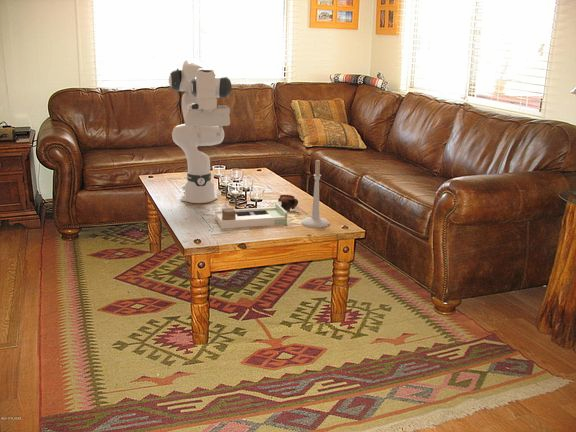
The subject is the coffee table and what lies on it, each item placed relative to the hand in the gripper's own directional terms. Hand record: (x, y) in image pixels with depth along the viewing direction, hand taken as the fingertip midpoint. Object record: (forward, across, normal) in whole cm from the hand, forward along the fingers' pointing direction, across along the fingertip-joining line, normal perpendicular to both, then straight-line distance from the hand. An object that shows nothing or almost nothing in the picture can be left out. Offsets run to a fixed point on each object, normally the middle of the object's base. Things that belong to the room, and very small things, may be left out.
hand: (208, 136), depth 279 cm
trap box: (+39, -17, +7) cm, 43 cm away
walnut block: (+37, -6, +10) cm, 39 cm away
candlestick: (+40, -45, +17) cm, 63 cm away
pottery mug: (+38, -40, -8) cm, 55 cm away
